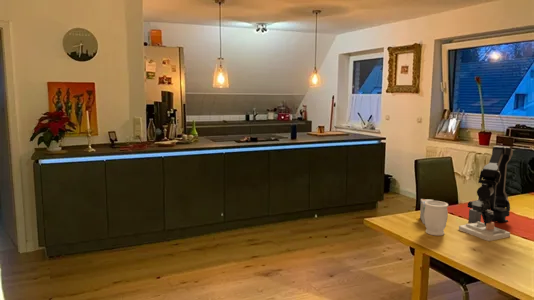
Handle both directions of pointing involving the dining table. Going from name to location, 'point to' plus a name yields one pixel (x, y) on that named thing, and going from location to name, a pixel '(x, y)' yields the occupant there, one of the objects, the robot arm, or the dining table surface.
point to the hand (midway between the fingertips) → (486, 225)
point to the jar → (435, 217)
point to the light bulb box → (423, 209)
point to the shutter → (491, 228)
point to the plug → (474, 216)
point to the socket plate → (483, 231)
